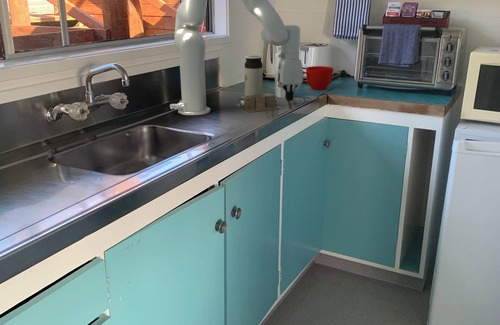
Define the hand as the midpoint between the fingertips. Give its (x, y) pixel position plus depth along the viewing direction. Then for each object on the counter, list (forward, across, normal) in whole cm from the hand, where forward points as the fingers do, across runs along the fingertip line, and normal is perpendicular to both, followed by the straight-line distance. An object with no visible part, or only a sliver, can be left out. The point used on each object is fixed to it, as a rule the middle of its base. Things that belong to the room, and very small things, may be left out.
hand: (289, 100), depth 213 cm
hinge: (+2, -15, 0) cm, 15 cm away
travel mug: (+2, -7, +20) cm, 22 cm away
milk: (+2, +5, +14) cm, 15 cm away
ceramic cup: (+2, +27, +22) cm, 35 cm away
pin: (+2, -15, 0) cm, 15 cm away
